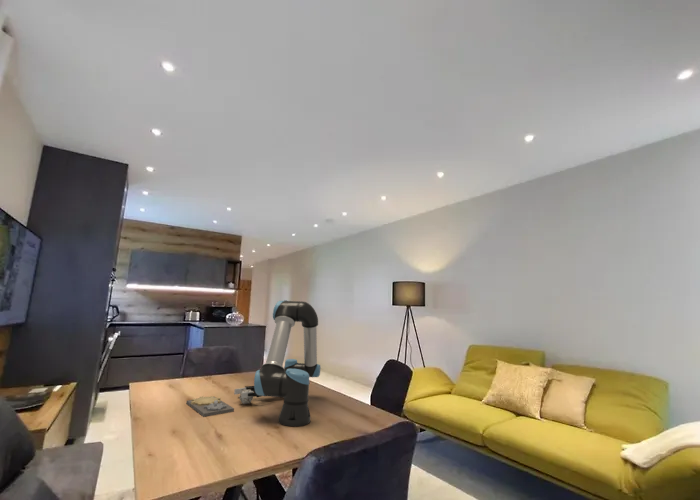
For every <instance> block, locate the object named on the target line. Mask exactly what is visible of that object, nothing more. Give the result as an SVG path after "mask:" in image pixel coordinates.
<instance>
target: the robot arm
mask: <svg viewBox="0 0 700 500" xmlns="http://www.w3.org/2000/svg"><path fill="white" fill-rule="evenodd" d="M272 319H273V321H274V323H275V328H274V331H273V335H272V340H271V342H270V347H269V350H268V354H267V357H266V362H264V363H263V364H262V365H261V369H258V370H256V371H255V373H254V380H253V381H254V382H253V385H247V386H244V387H241V388H240V387H239V388H234V392H233V394H234V395H240V394H241V392H242V389H243V390H249V389H250V388H251V391H249V392H242V394H241V398H247V397H253V396H254V397H253V398H255V397H256V398H259V397H275V398H283V405H282V408H281V410H280V412H279V415H278V423H279V424H281V425H282V426H286V427H287V426H288V427H302V426H306V425H308V424H311V413H310V407H309V393H310V392H309V390H310V389H309V388H310V383H311V382H310V378H319V377H320V375H321V369H322V368H321V364H318V356H317V355H318V352H317V351H318V349H317V347H318V346H317V339H318V338H317V337H318V336H317V334H318V333H317V329H318V328H317V327H318V325H319V318H318V314H317V312H316V309H315V308H314V307H313V306H312V305H311V304H310V303H308V302H306V301H299V300H298V301H296V300H295V301H294V300H293V301H291V300H285V299H284V300H279V301H277V302H276V303H275V304H274V308H273V312H272ZM296 322H297V323H300V322H301V326H302V328H303V350H304V351H303V353H304V354H303V358H304V359H303V362H302V363H301V362H298V360H297V359H296V358H287V359H285V357H286V352H287V347H288V344H289V339H290V336H291V331H292V327H294V326H295V325H296ZM284 360H285V361H284Z"/></svg>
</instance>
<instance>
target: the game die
mask: <svg viewBox="0 0 700 500" xmlns="http://www.w3.org/2000/svg"><path fill="white" fill-rule="evenodd" d="M249 391H251V388H250V389H249V390H243V389H242V392H249ZM242 392H241V394H242ZM241 394H239V396H237V399H239V401H240V402H241V406H243V405H246V404H250V405H252V401H253V399H254V398H255V397H254V396H253V397H247V398H241Z"/></svg>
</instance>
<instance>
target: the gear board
mask: <svg viewBox="0 0 700 500" xmlns="http://www.w3.org/2000/svg"><path fill="white" fill-rule="evenodd" d="M186 405H187V406H189V407H190V408H191V409H193V410H194V411H195V412H196V413H198V414H199V415H201V417H203V418H205V417H206V418H207V417H211V416H217V415H221V414H222V415H223V414H227V413H233V412H235V408H234V407H233V406H231V405H230V404H228V403H226V402H224V401H223V400H221V397H216V396H214V395H211V396H204V395H203V396H199V397H198V398H192V399H189V400H186Z"/></svg>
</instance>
